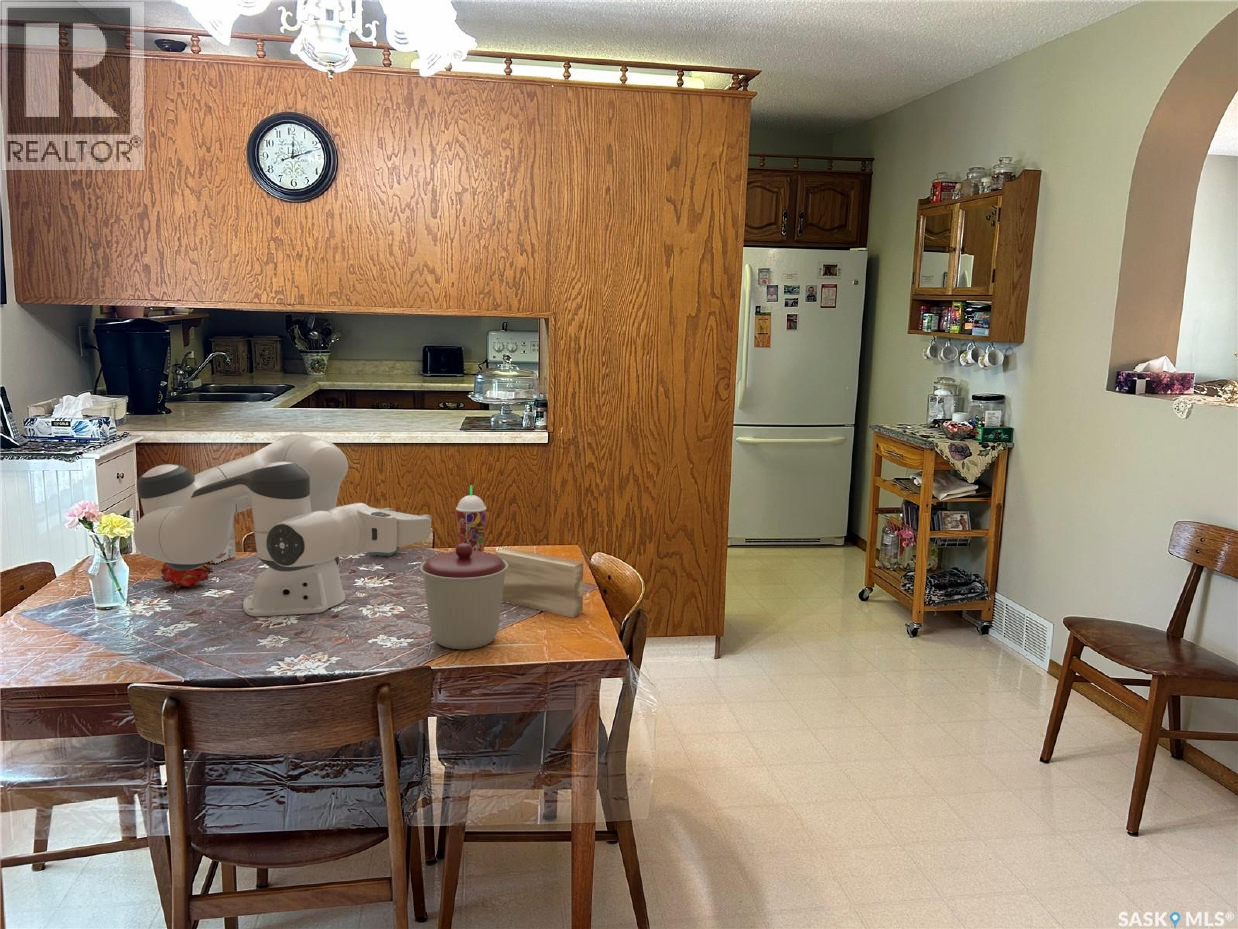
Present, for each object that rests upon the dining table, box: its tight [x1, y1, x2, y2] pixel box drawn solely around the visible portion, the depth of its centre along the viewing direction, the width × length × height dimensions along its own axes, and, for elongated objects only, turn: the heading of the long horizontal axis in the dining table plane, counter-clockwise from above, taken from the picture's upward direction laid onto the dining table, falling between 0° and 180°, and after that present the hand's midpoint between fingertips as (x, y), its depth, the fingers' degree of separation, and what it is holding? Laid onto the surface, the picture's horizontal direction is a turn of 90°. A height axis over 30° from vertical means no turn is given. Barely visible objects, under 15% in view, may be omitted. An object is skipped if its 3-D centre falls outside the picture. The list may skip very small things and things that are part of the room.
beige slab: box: [495, 547, 584, 619], centre depth 214 cm, size 4×22×12 cm, turn 60°
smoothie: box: [455, 484, 487, 552], centre depth 255 cm, size 8×8×20 cm
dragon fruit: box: [160, 562, 214, 589], centre depth 225 cm, size 8×8×12 cm
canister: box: [419, 543, 508, 650], centre depth 191 cm, size 18×18×21 cm
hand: (410, 515), depth 175 cm, fingers open, 8 cm apart
